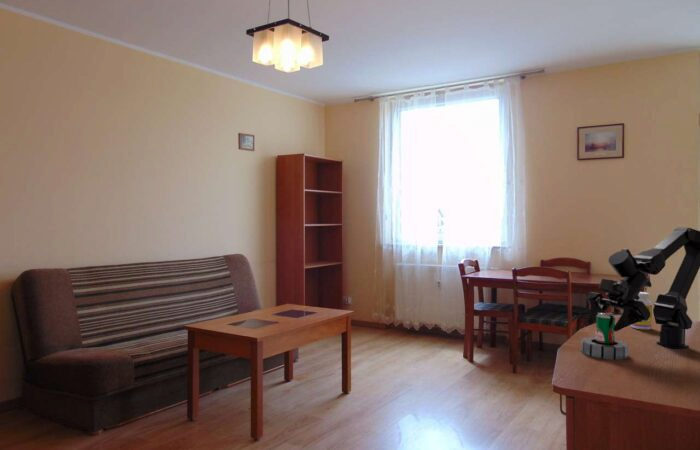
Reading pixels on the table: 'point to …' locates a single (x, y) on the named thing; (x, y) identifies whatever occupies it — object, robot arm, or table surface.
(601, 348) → the ring
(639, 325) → the supplement bottle
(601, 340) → the soda can
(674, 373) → the table surface
